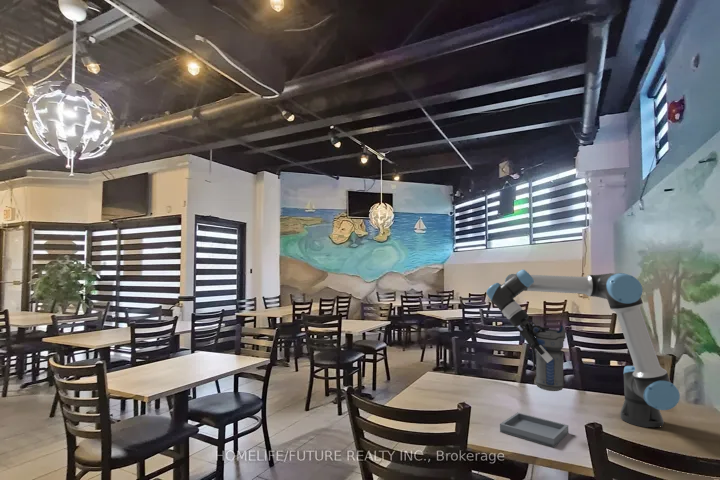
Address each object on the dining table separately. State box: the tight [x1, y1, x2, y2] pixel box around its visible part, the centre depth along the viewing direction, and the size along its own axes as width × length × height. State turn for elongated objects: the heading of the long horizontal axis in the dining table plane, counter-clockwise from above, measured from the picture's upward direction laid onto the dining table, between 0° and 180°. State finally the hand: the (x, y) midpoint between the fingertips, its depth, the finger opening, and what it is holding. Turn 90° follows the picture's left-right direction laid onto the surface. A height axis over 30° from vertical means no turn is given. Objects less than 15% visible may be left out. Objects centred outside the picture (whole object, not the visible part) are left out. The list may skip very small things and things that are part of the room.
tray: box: [499, 412, 569, 449], centre depth 158 cm, size 20×18×3 cm
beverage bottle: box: [529, 324, 567, 392], centre depth 160 cm, size 10×13×25 cm
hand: (554, 358), depth 158 cm, fingers closed on beverage bottle, 10 cm apart
